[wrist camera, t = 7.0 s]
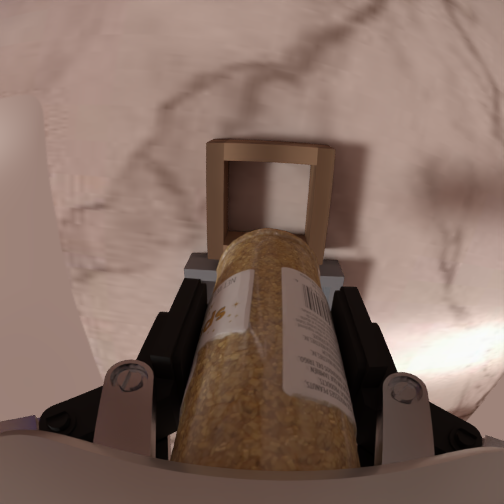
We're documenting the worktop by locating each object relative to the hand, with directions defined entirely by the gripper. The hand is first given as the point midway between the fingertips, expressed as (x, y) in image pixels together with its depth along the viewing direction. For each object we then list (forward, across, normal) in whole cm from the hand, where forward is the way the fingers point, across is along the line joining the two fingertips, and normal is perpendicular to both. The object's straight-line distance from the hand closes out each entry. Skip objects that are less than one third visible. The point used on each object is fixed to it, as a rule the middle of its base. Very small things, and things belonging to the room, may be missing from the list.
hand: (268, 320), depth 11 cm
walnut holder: (+16, 0, 0) cm, 16 cm away
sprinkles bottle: (+4, 0, 0) cm, 4 cm away
